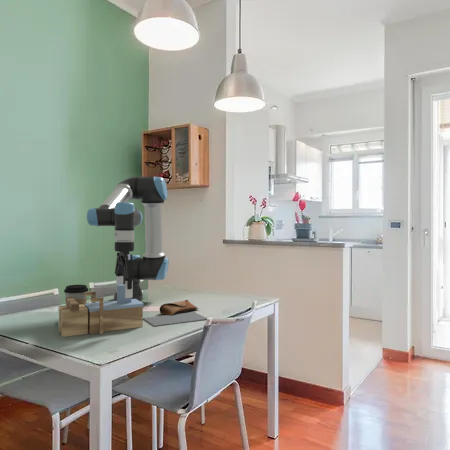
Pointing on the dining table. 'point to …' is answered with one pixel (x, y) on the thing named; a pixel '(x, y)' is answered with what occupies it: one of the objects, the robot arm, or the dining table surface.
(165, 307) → the sunglasses case
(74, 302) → the key
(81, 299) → the coffee cup
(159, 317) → the mat
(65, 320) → the toolbox
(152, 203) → the robot arm
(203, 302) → the dining table surface
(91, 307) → the lid
